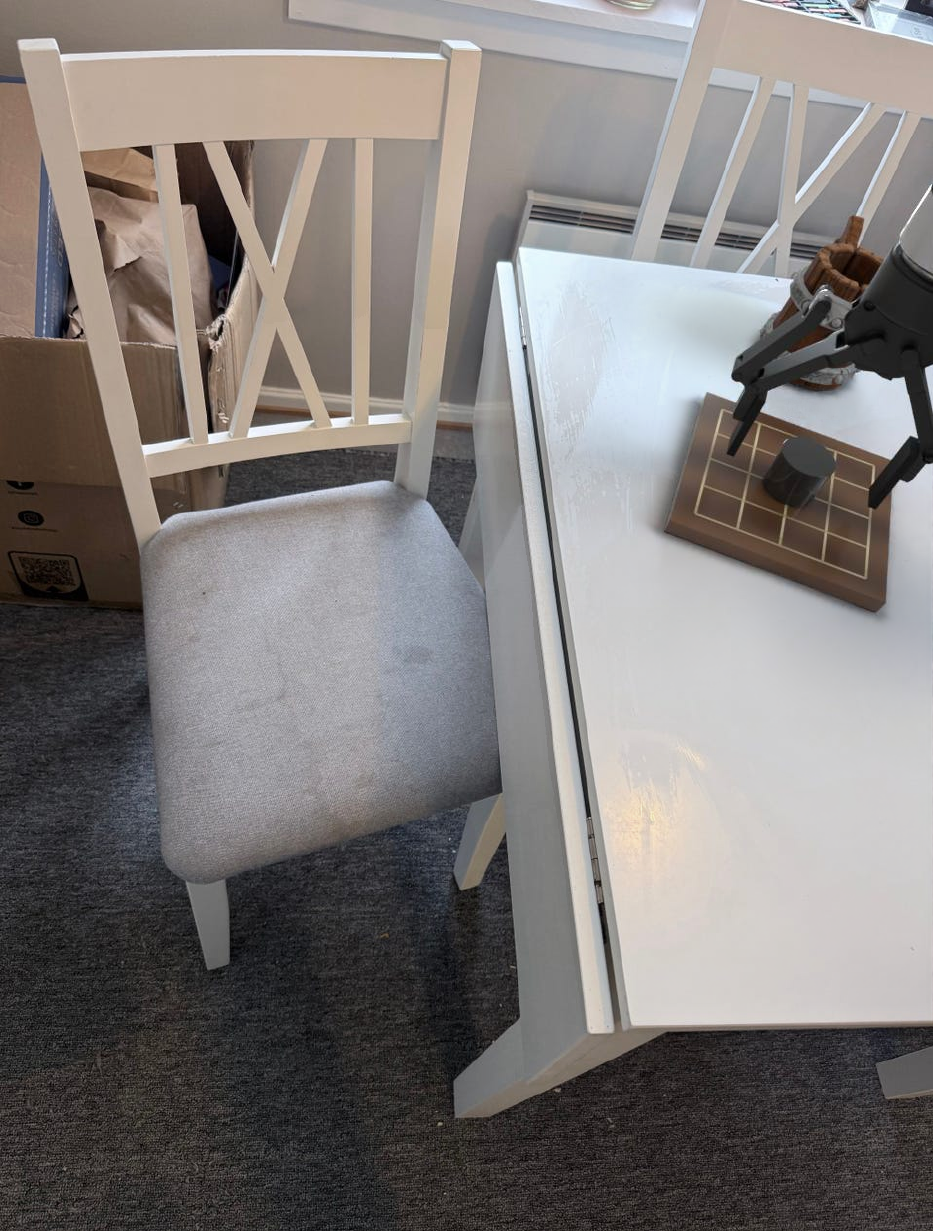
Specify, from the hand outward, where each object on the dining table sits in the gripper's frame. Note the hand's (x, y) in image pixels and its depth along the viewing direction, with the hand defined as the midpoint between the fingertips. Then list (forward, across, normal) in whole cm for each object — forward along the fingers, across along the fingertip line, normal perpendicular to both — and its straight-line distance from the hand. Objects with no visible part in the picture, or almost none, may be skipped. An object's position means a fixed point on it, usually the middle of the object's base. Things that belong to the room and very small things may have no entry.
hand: (801, 473), depth 78 cm
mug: (+4, +1, -26) cm, 26 cm away
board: (+4, 0, 0) cm, 4 cm away
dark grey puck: (+2, 0, 0) cm, 2 cm away
